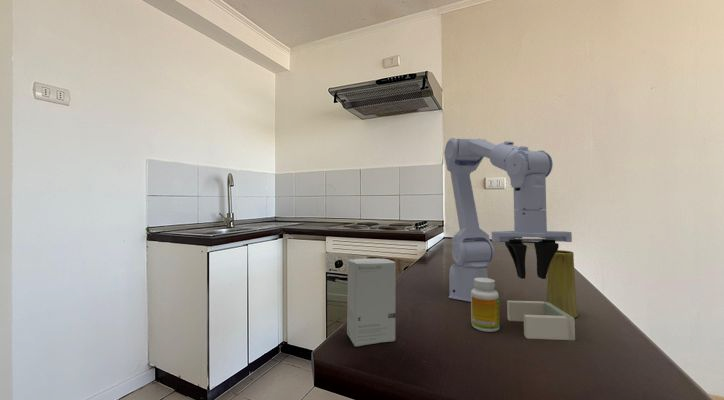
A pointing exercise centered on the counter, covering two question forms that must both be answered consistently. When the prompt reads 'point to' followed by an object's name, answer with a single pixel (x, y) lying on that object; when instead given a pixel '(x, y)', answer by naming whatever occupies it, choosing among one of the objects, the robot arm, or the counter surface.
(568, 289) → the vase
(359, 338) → the skincare box
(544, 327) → the bracket
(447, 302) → the counter surface
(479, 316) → the supplement bottle
